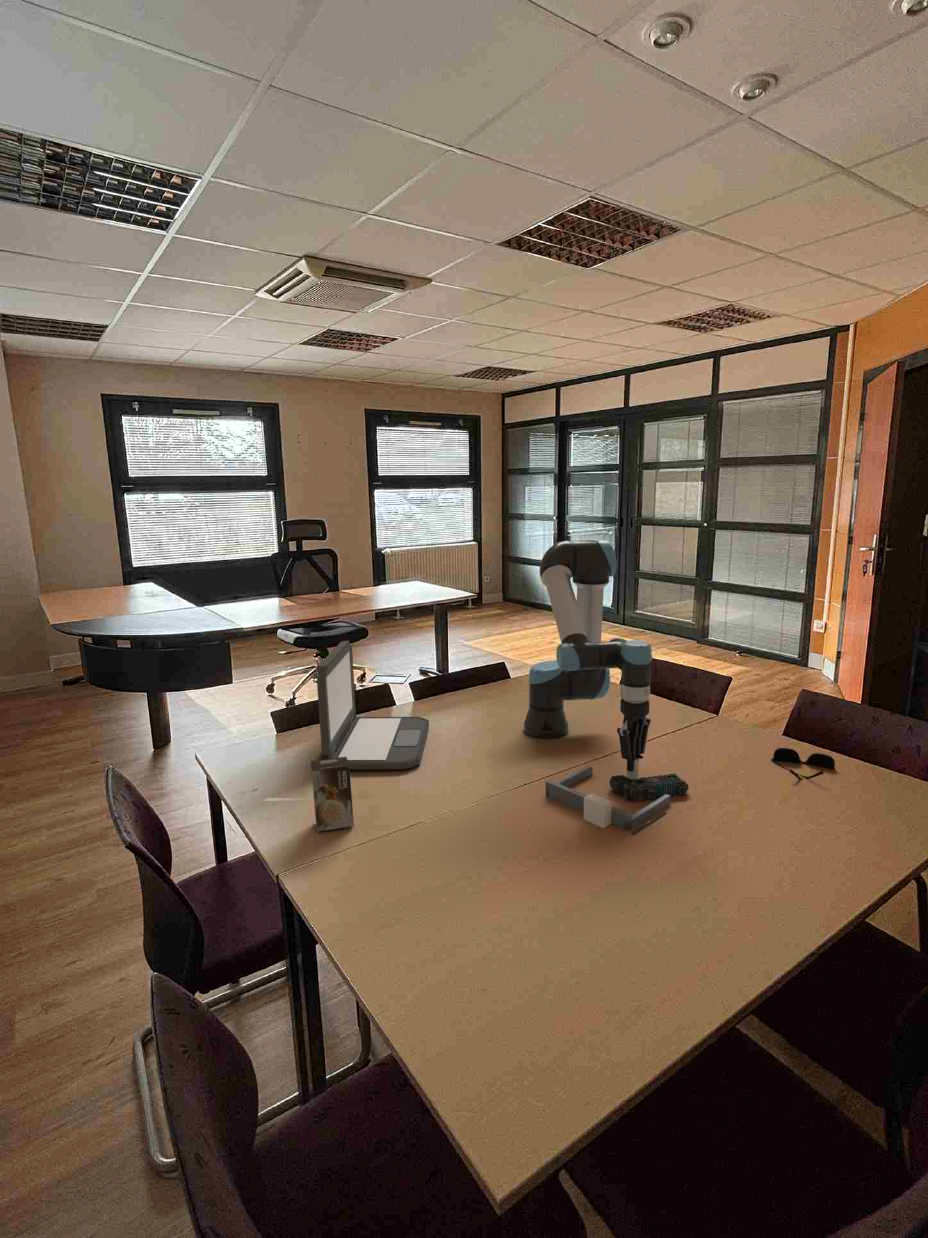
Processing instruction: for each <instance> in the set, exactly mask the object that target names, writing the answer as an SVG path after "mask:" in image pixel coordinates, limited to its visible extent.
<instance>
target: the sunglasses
mask: <svg viewBox="0 0 928 1238" xmlns="http://www.w3.org/2000/svg"><path fill="white" fill-rule="evenodd" d="M770 761H771V762H772V763H774V765H778V766H779V767H781V768H783V769H784V768H785V770H786V769H787V771H788V770H789V773H790V774H791V775H793V776H794V777H796V778H797V779H798V780H804V778H805V779H806V780H809V779H813V778H816V777H818V776H821V775H824V770H821V771H819V772H818V771H817V772H816V773H815V774H812V775H809V776H806V775H802V774H800V773H797V772H795V771H794V770H793V769H792V768H790V769H789V768H787V767H785V766H783V765H781V764H779V763H778V762H779V761H782V763H790V764H791V763H794V764H800V763H802V764H804V765H806V766H813V767H819V768H823V769H829V770H832V771H837V770H836V762H835V758H834V757H832V756H831V755H829V754H825V753H818V752H814V753H812V754H810V755H809V756H808V758H807V759H806V760H805V761H802V760H801V757H800V755H799V753H798V752H797V750H795V749H793V748H789V747H788V748H787V747H778V748H776V749H775V750H774V752H773V756H772V758H770ZM799 775H800V776H799ZM801 776H802V777H801Z"/></svg>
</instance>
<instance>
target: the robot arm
mask: <svg viewBox="0 0 928 1238" xmlns="http://www.w3.org/2000/svg"><path fill="white" fill-rule="evenodd" d="M617 563H618V562H617V557H616V552H615V550H614V546H613V545H612V543H610V541H608V540H607V539H604V540H603V539H582V540H563V541H558V542H556V543H555V544H553V545H551V546H549V548H548V549H547V550H546V552H545V553H544V554H543V556H542V558H541V560H540V564H539V576H540V580H541V583H542V585H543V586H544V587H546V590H547V595H548V598H549V601H550V606H551V611H552V613H553V617H554V621H555V625H556V628H557V632H558V635H559V639H560V643H559V644H558V645H557V647H556V651H555V652H556V653H555V655H556V657H555V658H556V660H547V661H541V662H538V663H535V664H534V665H533V666H531V667H530V669H529V673H528V680H527V681H528V710H527V712H526V715H525V718H524V719H525V720H524V721H523V731H524V732H525V734H527V735H529V736H532V737H535V738H539V739H554V738H556V739H557V738H560V737H563V736H565V735H566V734H568V733H569V721H567V717H566V714H565V709H564V702H565V701H580V700H595V699H602V698H603V697H605V696H606V695H607V694H608V691H609V689H610V685H611V676H610V675H611V674H610V673H611V672H610V669H619V670H620V671H621V676H620V677H621V678H620V679H621V681H620V698H621V699H620V707H619V709H620V713H621V714H622V715H623V720H622V727H618V728H617V729H616V732H617V734H618V739H619V745H620V754H621V758H622V760H623V759H624V760H626V777H627V778H629V779H639V769H640V768H639V767H640V765H639V764H640V760H643V758H644V756H643V754H644V755H645V750H646V744H647V738H648V732H649V727H650V724H651V718H648V717H647V716H648V715H649V714H650V705H651V704H650V703H651V701H650V698H651V697H650V696H651V675H652V673H651V672H652V660H653V654H652V646H651V644H650V643H649V642H647V641H643V640H636V639H635V640H626V639H624V638H620V637H614V638H611V639H610V640H608V641H602V630H603V629H602V628H603V611H604V590H605V587H606V586H608V584H610V577H613V576H615V574H616V573H617V565H618V564H617ZM571 579H572V581H571ZM572 582H573V584H574V585H575V586H576V594H575V592H574V588H573V584H572Z"/></svg>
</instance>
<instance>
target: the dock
mask: <svg viewBox="0 0 928 1238" xmlns="http://www.w3.org/2000/svg"><path fill="white" fill-rule="evenodd" d="M593 768H594V767H593V766H592V765H590V764H589V765H587V766H585V767H583V768H581V769H579V770H577V771H574V772H572V773H571V774H568V775H567V776H564V777H562V778H561V779H559V780H556V781H553V780H552V779H548V780H546V781H545V796H547V797H548V798H550V799H553V800H555V801H558V802H560V803H562V804H565V805H567V806H569V807H571V808H573V809H575V810H577V811H580V812H582V813H583V820H584V821H586V822H589V823H591V824H593V825H595V826H597V827H600V828H602V829H604V828H606V827H608V826H609V825H613V826H616V827H618V828H619V829H620V828H621V829H622V830H625V831H627V832H629V831H630V830H632V829H634V828H635V827H637V826H638V825H639V824H641V823H642V822H644V821H646V820H647V819H649V818H651V817H652V816H653V815H654V814H657V813H658V812H660V811H661V810H663V809H664V808H665V807H668V806H669V805H670V804H671V796H670V795H667V794H665V795H664V796H661V797H660V798H656V800H654V801H653V802H651V803H650V804H648V805H646V806H645V807H643V808H642V809H640V810H638V811H637V812H635V813H633V814H632V813H630V812H628V811H625V810H623V809H621V808H618V807H616V806H613V805H612V804H613V803H612V802H613V801H611V800H609V799H606V798H604V797H601V796H598V795H596V794H594V793H589V794H588V795H587V794H584V793H583V792H580V791H577V790H575V789H573V788H570V787H572V786H573V785H575V784H577V783H580V782H581V781H583V780H584V779H585V780H586V779H587V778H588V777H590V776H593V774H594V773H593V770H594V769H593ZM666 814H667V812H666V811H665V810H664V811H663V812H661V813H660V814H658V815H656V816H654V817H653V818H652V819H650V820H649V821H646V822H645V823H644V824H642V825H641V826H639V827H638V828H636V829H635V830H634V831H631V833H630V834H631V836H635V835H637V834H638V833H640V832H641V831H642V830H644V829H646V828H647V827H649V826H650V825H652V824H653V823H655V822H656V821H658V820H659V819H661V818H662V817H663V816H665V815H666Z"/></svg>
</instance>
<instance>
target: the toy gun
mask: <svg viewBox="0 0 928 1238" xmlns="http://www.w3.org/2000/svg"><path fill="white" fill-rule="evenodd" d="M608 784H609V786H610V789H612V790H613V791H614V792H615V793H617V794H618V795H620V796H623V798H624V799H625V800H626V801H629V802H632V803H637V802H640V801H645V800H646V801H647V800H653V799H659V798H661V797H662V796H664V795H665V794H667V795H670V797H671V796H673V797H675V796H681V795H682V796H683V795H685V794H687V793H688V791H689V790H690V789H689V787H690V786H689V784H688V783H687V782H686V781H685V780H684V779H683V778H682V779H681V778H680V777H679V776H678V775H677V774H676V773H675V772H674V773H669V774H667V773H666V774H659V775H654V776H651V775H650V776H643V777H638V779H629V778H627V775H624V774H623V775H613V776H611V777H610V780H609V781H608Z"/></svg>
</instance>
